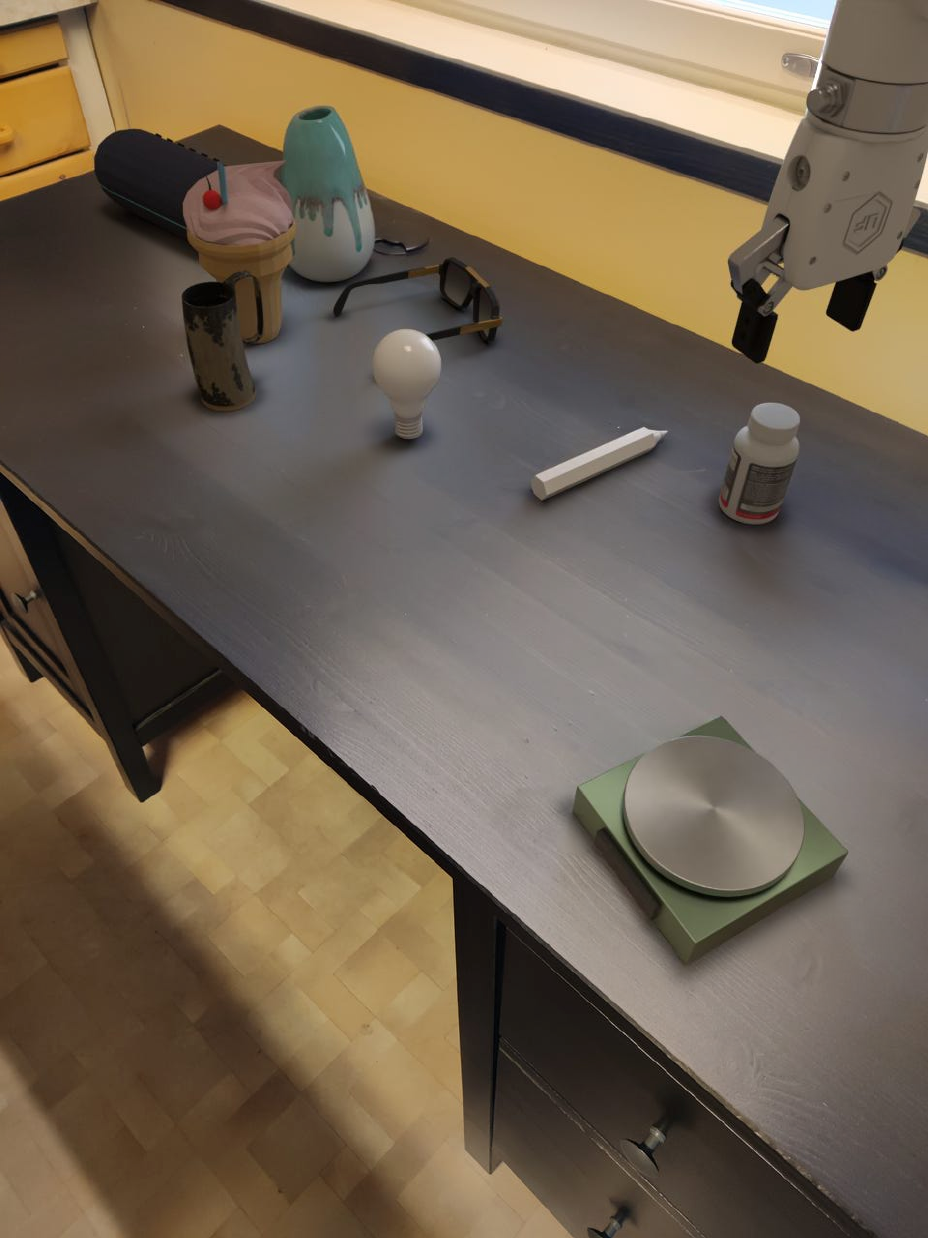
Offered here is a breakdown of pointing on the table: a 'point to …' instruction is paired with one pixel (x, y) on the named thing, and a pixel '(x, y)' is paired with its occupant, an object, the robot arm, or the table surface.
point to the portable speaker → (150, 175)
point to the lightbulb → (406, 376)
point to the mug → (220, 342)
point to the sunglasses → (449, 296)
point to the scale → (679, 910)
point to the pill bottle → (761, 464)
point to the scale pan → (713, 816)
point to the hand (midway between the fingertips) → (795, 338)
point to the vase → (326, 198)
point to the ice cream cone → (244, 236)
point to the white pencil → (594, 462)
